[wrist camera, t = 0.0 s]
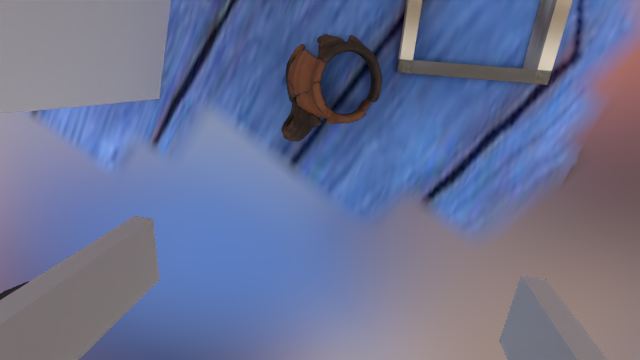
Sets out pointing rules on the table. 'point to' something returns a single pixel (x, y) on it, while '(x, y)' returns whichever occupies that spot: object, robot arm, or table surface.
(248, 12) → the table surface
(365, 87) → the table surface
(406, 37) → the channel
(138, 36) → the milk
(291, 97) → the brown open ring
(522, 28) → the table surface
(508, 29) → the table surface
